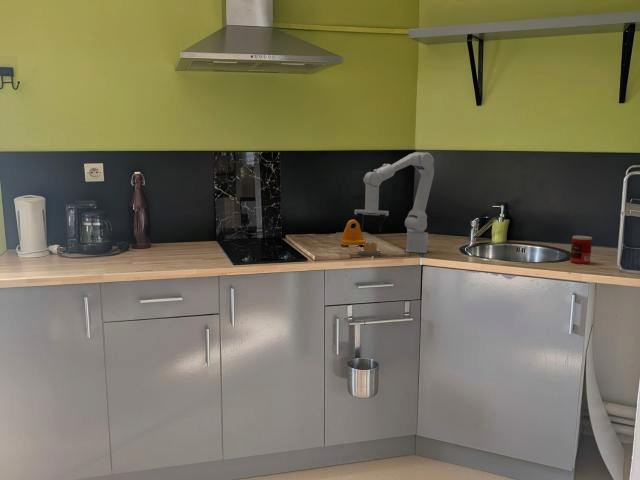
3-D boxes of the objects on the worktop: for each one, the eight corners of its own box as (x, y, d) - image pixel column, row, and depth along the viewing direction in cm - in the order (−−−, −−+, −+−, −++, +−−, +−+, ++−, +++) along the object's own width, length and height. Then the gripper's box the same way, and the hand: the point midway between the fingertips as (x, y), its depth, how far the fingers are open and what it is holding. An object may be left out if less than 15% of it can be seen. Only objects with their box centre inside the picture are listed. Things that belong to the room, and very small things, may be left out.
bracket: (342, 247, 284) (343, 221, 282) (340, 244, 291) (341, 219, 289) (365, 247, 285) (366, 221, 283) (363, 244, 292) (364, 219, 290)
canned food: (589, 262, 260) (592, 236, 258) (589, 265, 252) (592, 238, 251) (570, 260, 263) (572, 234, 261) (569, 263, 255) (571, 237, 254)
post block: (381, 252, 271) (382, 241, 270) (378, 256, 262) (379, 244, 261) (361, 251, 273) (361, 240, 272) (357, 254, 264) (358, 243, 263)
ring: (376, 250, 269) (377, 243, 269) (375, 252, 264) (375, 244, 264) (365, 250, 271) (365, 242, 270) (363, 252, 266) (363, 244, 265)
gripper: (353, 200, 262) (352, 231, 264) (387, 201, 258) (386, 233, 260) (356, 198, 269) (355, 229, 271) (389, 200, 265) (388, 231, 267)
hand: (370, 231), depth 266 cm, fingers open, 7 cm apart
